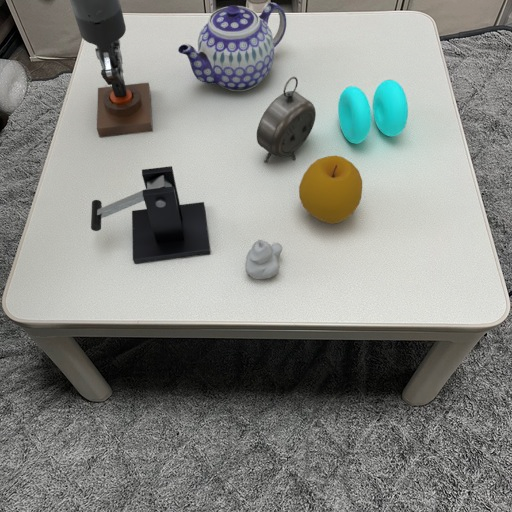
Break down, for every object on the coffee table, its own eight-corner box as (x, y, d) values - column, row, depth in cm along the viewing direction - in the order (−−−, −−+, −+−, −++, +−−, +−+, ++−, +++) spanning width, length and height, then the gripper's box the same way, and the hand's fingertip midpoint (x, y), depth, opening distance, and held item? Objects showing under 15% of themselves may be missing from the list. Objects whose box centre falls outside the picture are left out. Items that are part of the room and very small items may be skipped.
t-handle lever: (97, 234, 77) (86, 225, 75) (97, 208, 80) (87, 200, 78) (173, 202, 74) (164, 193, 72) (171, 177, 77) (162, 167, 75)
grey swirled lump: (236, 268, 80) (234, 238, 73) (268, 246, 82) (269, 214, 76) (259, 291, 78) (259, 262, 71) (291, 268, 80) (294, 237, 73)
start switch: (99, 137, 97) (93, 120, 94) (100, 96, 104) (95, 79, 101) (152, 131, 98) (148, 114, 95) (150, 91, 105) (146, 74, 101)
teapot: (265, 38, 115) (265, -31, 102) (307, 72, 107) (313, 3, 95) (166, 79, 107) (153, 10, 94) (205, 120, 100) (196, 50, 87)
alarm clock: (296, 132, 97) (301, 56, 84) (317, 146, 95) (326, 70, 82) (255, 161, 93) (253, 86, 80) (276, 177, 91) (278, 102, 77)
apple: (291, 230, 84) (295, 181, 74) (304, 187, 89) (309, 136, 80) (351, 243, 83) (362, 194, 73) (360, 198, 88) (372, 147, 78)
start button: (112, 110, 97) (110, 102, 96) (112, 96, 100) (110, 89, 98) (133, 108, 98) (131, 100, 96) (133, 94, 100) (131, 87, 98)
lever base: (134, 264, 81) (115, 212, 70) (133, 215, 86) (115, 160, 76) (210, 254, 82) (202, 201, 71) (204, 206, 87) (196, 150, 77)
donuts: (402, 146, 95) (416, 102, 87) (351, 156, 94) (360, 112, 85) (382, 111, 100) (392, 66, 92) (333, 120, 99) (339, 76, 91)
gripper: (74, -14, 86) (101, 75, 101) (70, 31, 79) (100, 120, 93) (120, -18, 87) (140, 71, 101) (120, 27, 80) (142, 115, 94)
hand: (121, 94), depth 97 cm, fingers closed
